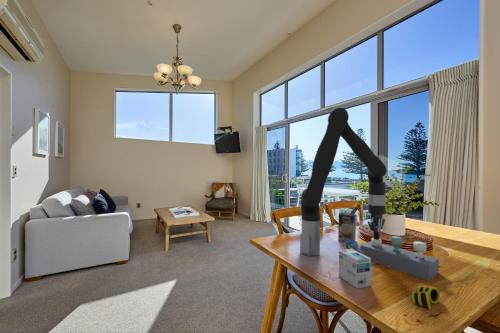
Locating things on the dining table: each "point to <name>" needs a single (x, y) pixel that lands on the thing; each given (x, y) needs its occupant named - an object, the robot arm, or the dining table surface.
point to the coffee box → (347, 227)
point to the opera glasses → (426, 296)
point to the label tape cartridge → (353, 246)
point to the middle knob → (396, 243)
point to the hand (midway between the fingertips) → (376, 239)
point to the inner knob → (376, 242)
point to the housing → (402, 260)
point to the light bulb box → (355, 268)
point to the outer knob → (419, 249)
